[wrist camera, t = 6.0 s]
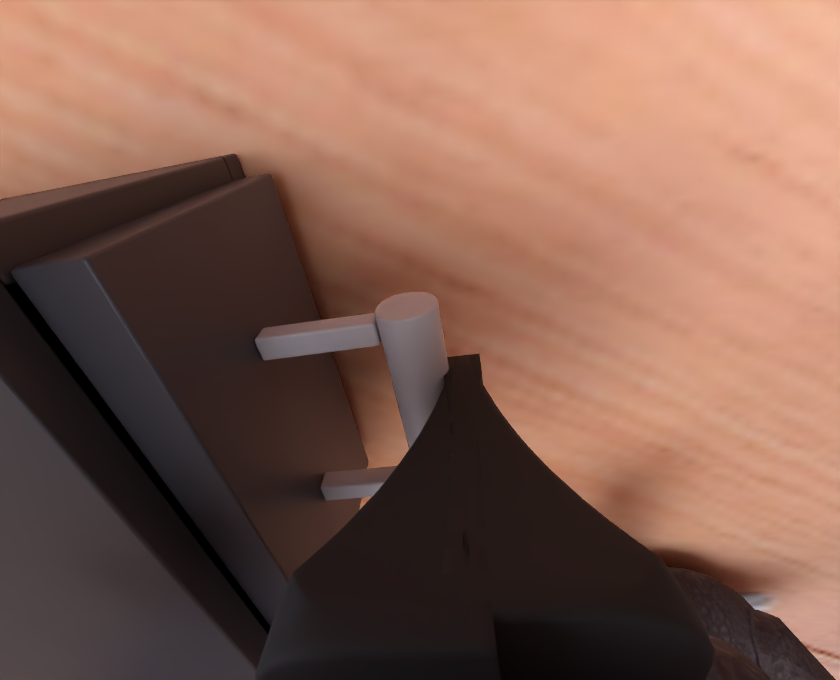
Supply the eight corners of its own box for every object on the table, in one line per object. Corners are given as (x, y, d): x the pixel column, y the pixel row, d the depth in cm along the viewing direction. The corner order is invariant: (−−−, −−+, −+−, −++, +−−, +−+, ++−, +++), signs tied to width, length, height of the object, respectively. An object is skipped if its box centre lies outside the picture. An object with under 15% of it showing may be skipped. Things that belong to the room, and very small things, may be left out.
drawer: (422, 144, 10) (402, 202, 5) (469, 452, 16) (487, 649, 10) (-105, 243, 12) (-578, 369, 7) (103, 485, 18) (-54, 666, 12)
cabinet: (236, 152, 12) (-113, 248, 4) (349, 457, 18) (287, 706, 11) (-145, 228, 13) (-875, 390, 6) (81, 482, 20) (-133, 713, 12)
